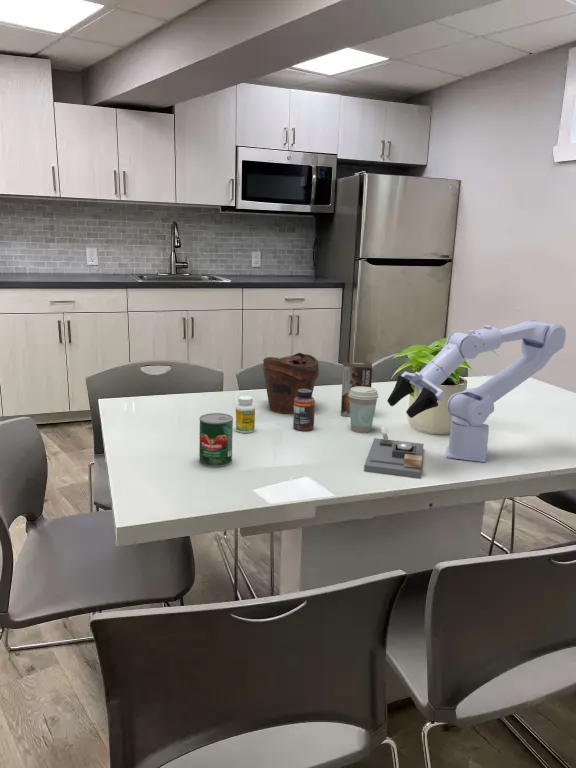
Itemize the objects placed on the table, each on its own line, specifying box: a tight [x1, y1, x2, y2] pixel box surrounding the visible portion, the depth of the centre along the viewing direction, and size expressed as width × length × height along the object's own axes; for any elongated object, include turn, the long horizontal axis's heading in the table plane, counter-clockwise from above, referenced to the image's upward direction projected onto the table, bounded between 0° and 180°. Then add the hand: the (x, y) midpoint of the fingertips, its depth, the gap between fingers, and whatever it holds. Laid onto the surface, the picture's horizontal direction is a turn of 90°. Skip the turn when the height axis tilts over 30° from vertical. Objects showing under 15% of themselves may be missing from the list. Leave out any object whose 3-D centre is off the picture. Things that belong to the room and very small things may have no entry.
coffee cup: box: [349, 386, 379, 434], centre depth 170 cm, size 8×8×12 cm
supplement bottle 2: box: [292, 389, 316, 432], centre depth 169 cm, size 6×6×11 cm
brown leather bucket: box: [262, 352, 320, 415], centre depth 189 cm, size 18×20×18 cm
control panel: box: [363, 437, 424, 479], centre depth 148 cm, size 13×21×3 cm, turn 165°
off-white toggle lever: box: [380, 427, 389, 440], centre depth 154 cm, size 1×1×4 cm
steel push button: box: [397, 440, 412, 452], centre depth 147 cm, size 4×4×2 cm
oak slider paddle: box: [404, 454, 423, 470], centre depth 140 cm, size 4×3×2 cm
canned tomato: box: [198, 412, 234, 468], centre depth 141 cm, size 8×8×11 cm
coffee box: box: [340, 361, 374, 417], centre depth 185 cm, size 9×6×16 cm
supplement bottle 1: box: [235, 395, 256, 434], centre depth 165 cm, size 5×5×10 cm
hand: (398, 409), depth 143 cm, fingers open, 7 cm apart
